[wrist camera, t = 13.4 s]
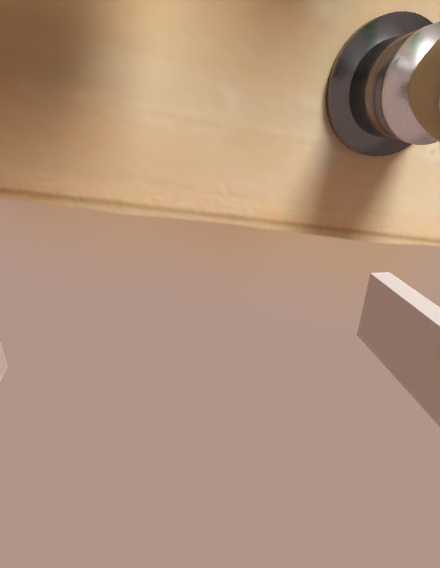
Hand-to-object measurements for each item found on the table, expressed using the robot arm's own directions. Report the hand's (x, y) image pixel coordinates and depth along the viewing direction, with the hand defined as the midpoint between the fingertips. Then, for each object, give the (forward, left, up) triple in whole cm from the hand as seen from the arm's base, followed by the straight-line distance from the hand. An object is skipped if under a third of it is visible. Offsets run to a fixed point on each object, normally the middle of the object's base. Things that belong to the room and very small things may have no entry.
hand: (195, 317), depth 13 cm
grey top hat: (+16, +19, -29) cm, 38 cm away
